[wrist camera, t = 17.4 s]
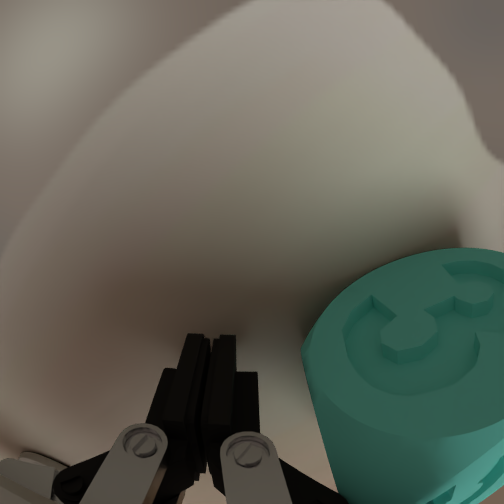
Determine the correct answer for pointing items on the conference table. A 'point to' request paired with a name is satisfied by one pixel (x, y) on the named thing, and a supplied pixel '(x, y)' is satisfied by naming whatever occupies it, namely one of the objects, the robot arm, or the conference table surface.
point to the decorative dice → (414, 380)
